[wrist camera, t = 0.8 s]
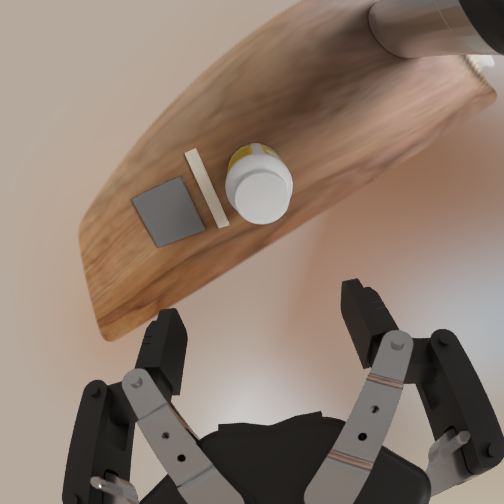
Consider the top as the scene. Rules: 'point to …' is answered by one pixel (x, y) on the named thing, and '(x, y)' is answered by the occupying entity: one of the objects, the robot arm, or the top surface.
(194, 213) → the mat
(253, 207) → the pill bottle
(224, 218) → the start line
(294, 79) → the top surface
